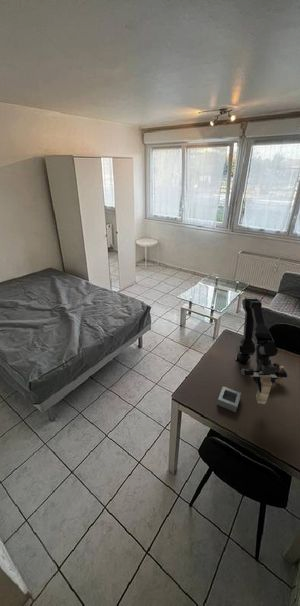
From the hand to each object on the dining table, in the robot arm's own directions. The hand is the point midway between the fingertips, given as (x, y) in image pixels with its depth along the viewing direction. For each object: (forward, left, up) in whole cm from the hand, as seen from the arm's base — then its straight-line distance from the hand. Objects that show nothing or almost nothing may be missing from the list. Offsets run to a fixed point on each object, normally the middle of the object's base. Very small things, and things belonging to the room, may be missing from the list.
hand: (264, 393), depth 115 cm
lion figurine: (-7, +22, -13) cm, 26 cm away
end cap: (-12, -7, -13) cm, 19 cm away
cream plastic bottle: (-1, +1, -7) cm, 7 cm away
